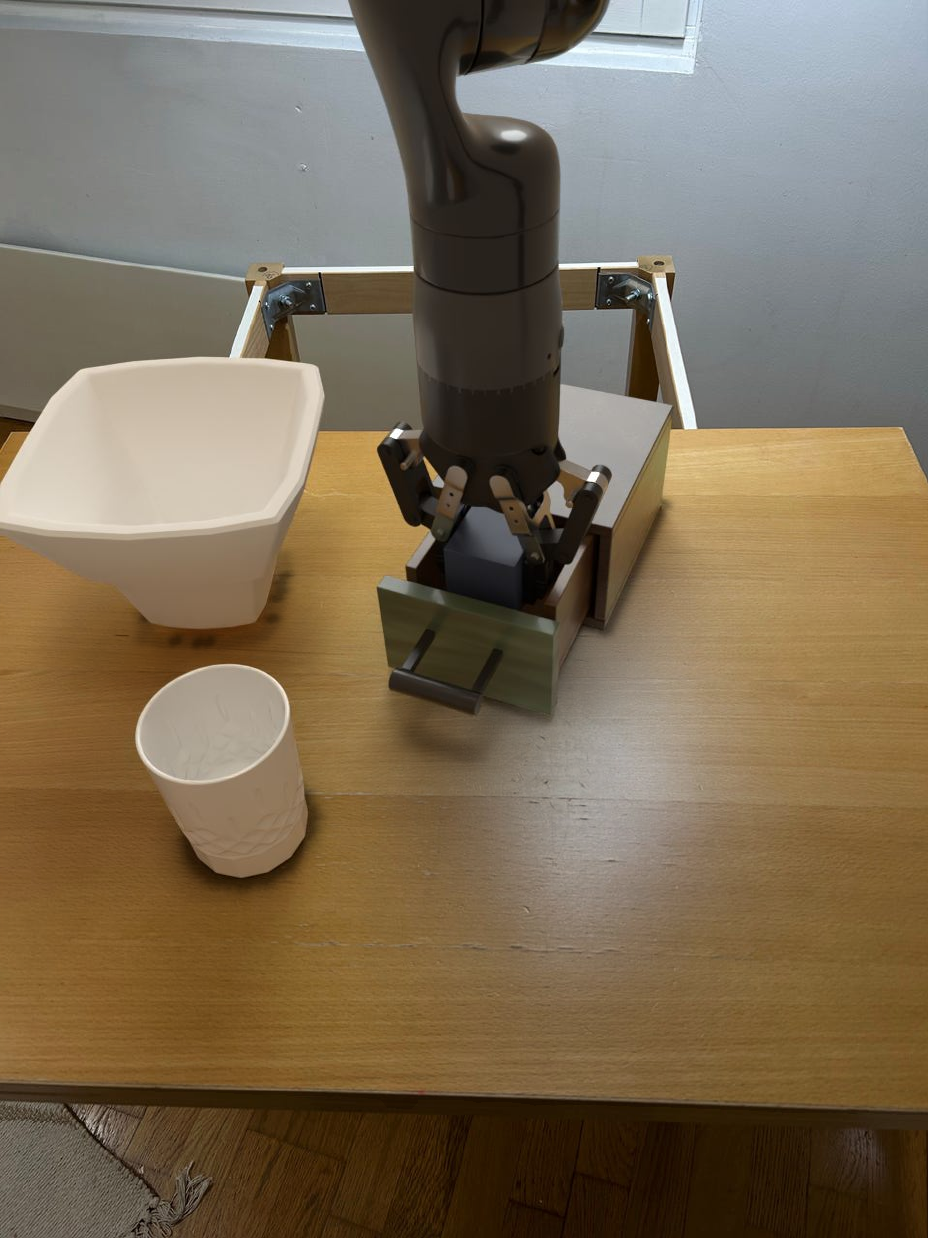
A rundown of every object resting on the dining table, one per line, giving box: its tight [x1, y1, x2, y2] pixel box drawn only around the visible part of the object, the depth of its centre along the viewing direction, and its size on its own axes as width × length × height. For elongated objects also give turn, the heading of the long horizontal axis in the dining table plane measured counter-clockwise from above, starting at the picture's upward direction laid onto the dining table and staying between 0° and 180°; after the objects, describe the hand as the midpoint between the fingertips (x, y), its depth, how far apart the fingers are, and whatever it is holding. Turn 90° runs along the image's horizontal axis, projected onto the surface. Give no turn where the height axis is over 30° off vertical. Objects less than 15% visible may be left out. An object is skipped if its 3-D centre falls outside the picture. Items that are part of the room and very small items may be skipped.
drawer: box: [376, 505, 600, 717], centre depth 63 cm, size 18×11×7 cm, turn 157°
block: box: [444, 507, 525, 612], centre depth 61 cm, size 5×5×5 cm
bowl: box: [0, 356, 326, 630], centre depth 67 cm, size 19×19×14 cm
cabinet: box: [432, 383, 675, 631], centre depth 71 cm, size 15×13×9 cm
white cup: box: [134, 663, 309, 879], centre depth 54 cm, size 8×8×10 cm
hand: (495, 584), depth 63 cm, fingers closed on block, 4 cm apart
